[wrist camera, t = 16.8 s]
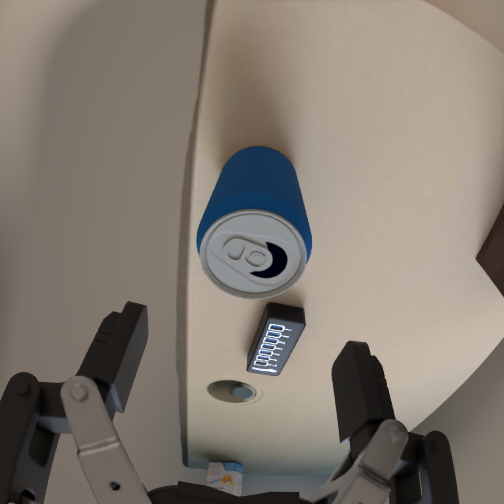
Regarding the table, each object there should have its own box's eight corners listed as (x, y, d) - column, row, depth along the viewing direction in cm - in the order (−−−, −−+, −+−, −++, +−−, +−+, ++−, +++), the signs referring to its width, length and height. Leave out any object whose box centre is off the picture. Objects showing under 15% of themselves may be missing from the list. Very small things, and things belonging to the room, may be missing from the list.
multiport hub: (305, 308, 34) (307, 323, 32) (278, 363, 40) (278, 377, 38) (267, 301, 34) (267, 316, 32) (246, 358, 40) (245, 372, 38)
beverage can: (277, 223, 28) (281, 318, 18) (211, 197, 27) (178, 282, 17) (309, 162, 25) (338, 233, 15) (238, 132, 24) (215, 182, 14)
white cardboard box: (236, 461, 68) (232, 508, 55) (243, 466, 70) (240, 511, 58) (208, 461, 70) (202, 506, 57) (216, 466, 72) (211, 509, 60)
